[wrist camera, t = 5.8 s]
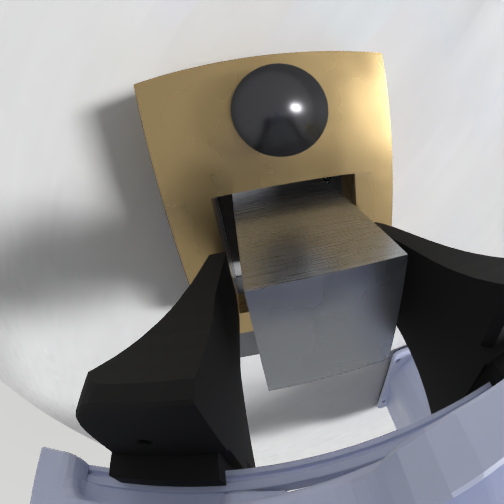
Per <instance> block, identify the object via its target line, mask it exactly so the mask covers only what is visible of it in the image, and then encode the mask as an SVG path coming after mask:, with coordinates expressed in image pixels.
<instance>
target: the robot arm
mask: <svg viewBox="0 0 504 504" xmlns="http://www.w3.org/2000/svg"><path fill="white" fill-rule="evenodd" d="M374 223H375V224H376V225H377V226H378V227H379V228H381V229H382V230H383V231H384V232H385V233H386V234H387V235H388V236H389V237H390V238H391V239H392V240H393V241H395V242H396V243H397V244H398V245H399V246H400V247H401V248H402V249H403V250H404V251H405V252H406V253H407V254H408V257H407V265H406V273H405V280H404V286H403V292H402V298H401V304H400V309H399V314H398V319H397V324H396V325H397V327H398V329H399V330H400V332H401V334H402V336H403V338H404V340H405V342H406V344H407V346H408V347H407V348H404V349H401V350H398V351H396V352H395V353H394V354H393V356H392V359H391V363H390V366H389V369H388V373H387V376H386V379H385V383H384V386H383V389H382V392H381V395H380V398H379V401H378V403H377V407H378V408H382V407H385V406H387V408H388V410H389V413H390V415H391V417H392V420H393V422H394V424H395V427H396V429H397V430H396V431H393V432H391V433H388V434H385V435H383V436H380V437H377V438H375V439H372V440H369V441H366V442H363V443H360V444H357V445H354V446H351V447H347V448H344V449H341V450H337V451H334V452H330V453H326V454H322V455H318V456H314V457H310V458H306V459H301V460H296V461H291V462H286V463H281V464H275V465H269V466H262V467H255V462H254V457H253V451H252V446H251V440H250V434H249V428H248V422H247V416H246V409H245V402H244V395H243V388H242V380H241V369H240V317H239V309H238V302H237V295H236V291H235V288H234V284H233V280H232V276H231V272H230V268H229V264H228V260H227V256H226V252H221V253H216V254H211V255H209V256H208V258H207V259H206V261H205V262H204V264H203V265H202V267H201V269H200V270H199V272H198V274H197V275H196V277H195V278H194V280H193V281H192V283H191V284H190V286H189V287H188V289H187V290H186V291H185V293H184V294H183V295H182V297H181V298H180V299H179V301H178V302H177V303H176V304H175V305H174V306H173V308H172V309H171V310H170V311H169V312H168V313H167V314H166V315H165V316H164V317H163V318H162V319H161V320H160V321H159V322H158V323H157V324H156V325H155V326H154V327H152V328H151V329H150V330H149V331H148V332H147V333H146V334H145V335H144V336H142V337H141V338H140V339H139V340H137V341H136V342H135V343H134V344H132V345H131V346H130V347H128V348H127V349H125V350H124V351H122V352H121V353H120V354H118V355H117V356H115V357H114V358H112V359H110V360H108V361H107V362H105V363H103V364H102V365H100V366H98V367H97V368H95V369H93V370H91V371H89V372H88V374H87V377H86V380H85V383H84V386H83V389H82V392H81V395H80V399H79V402H78V405H77V409H76V418H77V420H78V422H79V423H80V425H81V426H82V427H83V429H84V430H85V431H86V432H87V433H89V434H90V435H91V436H92V437H93V438H95V439H96V440H97V441H98V442H100V443H101V444H102V445H104V446H105V447H106V448H107V449H109V450H110V451H111V452H112V455H111V462H110V468H106V467H99V466H93V465H88V464H87V463H86V462H85V461H84V460H82V459H81V458H79V457H77V456H76V455H73V454H71V453H68V452H64V451H59V450H55V449H51V448H46V447H43V448H42V450H41V454H40V458H39V462H38V466H37V470H36V475H35V480H34V485H33V490H32V496H31V501H30V504H504V258H499V257H491V256H485V255H480V254H475V253H470V252H466V251H462V250H458V249H454V248H451V247H447V246H444V245H441V244H438V243H435V242H432V241H429V240H427V239H424V238H421V237H418V236H416V235H413V234H411V233H408V232H405V231H403V230H400V229H397V228H395V227H392V226H389V225H386V224H383V223H378V222H374ZM304 487H306V488H304ZM299 488H302V489H299ZM294 489H298V490H295V491H291V492H287V491H289V490H294Z"/></svg>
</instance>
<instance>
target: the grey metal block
mask: <svg viewBox="0 0 504 504" xmlns="http://www.w3.org/2000/svg"><path fill="white" fill-rule="evenodd" d="M232 199H233V207H234V216H235V224H236V232H237V240H238V248H239V256H240V263H241V271H242V279H243V287H244V293H245V297H246V301H247V305H248V310H249V314H250V318H251V322H252V326H253V330H254V334H255V338H256V342H257V346H258V350H259V354H260V358H261V362H262V366H263V370H264V374H265V377H266V381H267V385H268V389H269V391H270V390H275V389H280V388H285V387H290V386H294V385H299V384H303V383H307V382H312V381H316V380H320V379H323V378H327V377H331V376H335V375H338V374H342V373H345V372H349V371H352V370H355V369H359V368H362V367H365V366H368V365H371V364H374V363H377V362H380V361H383V360H386V359H388V358H389V354H390V350H391V346H392V342H393V338H394V333H395V329H396V324H397V319H398V314H399V309H400V304H401V298H402V292H403V286H404V280H405V273H406V265H407V257H408V254H407V253H406V252H405V251H404V250H403V249H402V248H401V247H400V246H399V245H398V244H397V243H396V242H395V241H393V240H392V239H391V238H390V237H389V236H388V235H387V234H386V233H385V232H384V231H383V230H382V229H381V228H379V227H378V226H377V225H376V224H375V223H374V222H373V221H372V220H371V219H369V218H368V217H367V216H366V215H365V214H364V213H363V212H362V211H360V210H359V209H358V208H357V207H356V206H355V205H353V204H352V203H351V202H350V201H349V200H348V199H346V198H345V197H344V196H343V195H342V194H340V193H339V192H338V191H337V190H336V189H334V188H333V187H332V186H331V185H329V184H328V183H327V182H326V181H324V180H323V179H322V178H318V179H312V180H306V181H299V182H293V183H288V184H282V185H276V186H271V187H265V188H260V189H254V190H249V191H244V192H239V193H234V194H232Z"/></svg>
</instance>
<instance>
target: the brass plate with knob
mask: <svg viewBox="0 0 504 504" xmlns="http://www.w3.org/2000/svg"><path fill="white" fill-rule="evenodd" d="M134 89H135V94H136V98H137V103H138V108H139V112H140V116H141V121H142V125H143V129H144V133H145V138H146V142H147V146H148V150H149V153H150V157H151V161H152V165H153V169H154V172H155V176H156V180H157V183H158V187H159V190H160V194H161V197H162V201H163V204H164V208H165V211H166V214H167V218H168V221H169V224H170V227H171V231H172V234H173V237H174V240H175V243H176V246H177V249H178V252H179V255H180V258H181V261H182V264H183V267H184V270H185V273H186V276H187V279H188V282H189V285H190V284H191V283H192V281H193V280H194V278H195V277H196V275H197V274H198V272H199V270H200V269H201V267H202V265H203V264H204V262H205V261H206V259H207V258H208V256H209V255H211V254H216V253H221V252H226V256H227V260H228V264H229V268H230V272H231V276H232V280H233V284H234V288H235V291H236V295H237V302H238V309H239V317H240V357H245V356H250V355H256V354H259V350H258V346H257V342H256V338H255V334H254V330H253V326H252V322H251V318H250V314H249V310H248V305H247V301H246V297H245V293H244V287H243V279H242V276H240V277H236V274H235V270H234V266H233V262H232V258H231V254H230V250H229V245H228V241H227V237H226V233H225V228H224V224H223V220H222V215H221V211H220V207H219V202H218V198H217V197H219V196H224V195H229V194H234V193H239V192H244V191H249V190H254V189H260V188H265V187H271V186H276V185H282V184H288V183H293V182H299V181H306V180H312V179H318V178H325V177H330V180H331V186H332V187H333V188H334V189H336V190H337V191H338V192H339V193H340V194H342V195H343V196H344V197H345V198H346V199H348V200H349V201H350V202H351V203H352V204H353V205H355V206H356V207H357V208H358V209H359V210H360V211H362V212H363V213H364V214H365V215H366V216H367V217H368V218H369V219H371V220H372V221H373V222H378V223H383V224H386V225H389V226H391V225H392V195H393V170H392V140H391V124H390V112H389V102H388V93H387V84H386V77H385V70H384V63H383V57H382V53H373V52H352V51H317V52H296V53H282V54H272V55H263V56H255V57H247V58H241V59H234V60H228V61H223V62H217V63H212V64H207V65H203V66H198V67H194V68H190V69H185V70H181V71H177V72H174V73H170V74H166V75H163V76H159V77H156V78H153V79H149V80H146V81H143V82H140V83H137V84H134Z"/></svg>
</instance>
